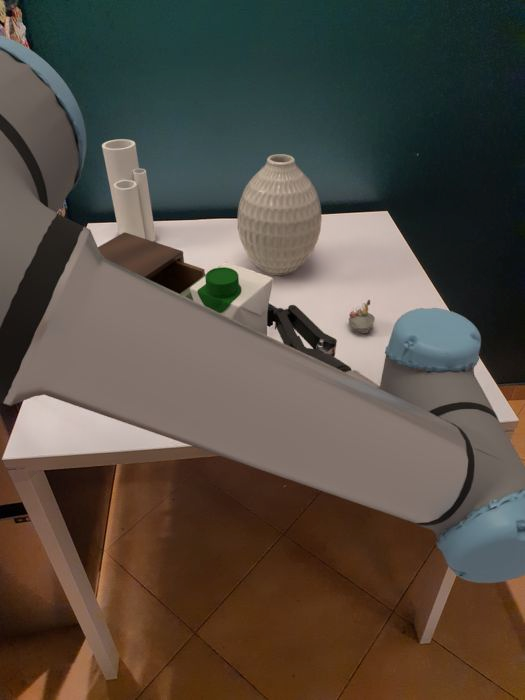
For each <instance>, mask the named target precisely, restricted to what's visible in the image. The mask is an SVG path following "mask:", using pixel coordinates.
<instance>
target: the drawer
mask: <svg viewBox="0 0 525 700" xmlns="http://www.w3.org/2000/svg"><path fill="white" fill-rule="evenodd" d="M215 268H216V267H215ZM215 268H213V269H215ZM205 276H206V270H205V269H204V268H201V267H199V266H197V265H193V264H190V263H187V262H185V261H184V262H181V261H178V260H176V261H175V262H173V263H172V264H170V265H169V266H167V267H166V268H164V269H163V270H161V271H160V272H158V273H157V274H155V275H154V276H152V277H151V278H150V279H149V280H151V281H153V282H155V283H157V284H159V285H161V286H163V287H166V288H168V289H170V290H172V291H174V292H176V293H178V294H180V295H182V296H185V297H187V298H189V299H191V300H193V297H192V294H191V291H190V287H191V286H193V285H194V284H195V283H197V282H198V281H199V280H201V279H202V278H203V277H205ZM193 301H194V300H193Z"/></svg>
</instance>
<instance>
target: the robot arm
mask: <svg viewBox="0 0 525 700" xmlns="http://www.w3.org/2000/svg"><path fill="white" fill-rule="evenodd" d="M86 131H87V130H86V125H85V121H84V118H83V114H82V111H81V108H80V106H79V104H78V102H77V100H76V98H75V96H74V94H73V93H72V91H71V89H70V88H69V86H68V85H67V84H66V82H65V80H64V79H63V78H62V77H61V76H60V74H59V73H58V72H57V71H56V70H55V69H54V68H53V67H52V66H51V65H50V64H49V63H48V62H47V61H46V60H45V59H43V57H41V56H40V55H38V54H37V53H36V52H35V51H33V50H32V49H30V48H28V47H27V46H26V45H24V44H22V43H20V42H18V41H16V40H15V39H12V38H9V37H7V36H4V35H1V34H0V404H3V405H7V406H10V407H11V406H14V405H16V404H18V403H21V402H24V401H26V400H29V399H31V398H34V397H39V396H47V397H49V398H53V399H56V400H59V401H61V402H64V403H66V404H69V405H72V406H76V407H78V408H82V409H84V410H86V411H87V410H88V411H91V412H93V413H95V414H98V415H102V416H103V417H107V418H110V419H113V420H116V421H118V422H121V423H125V424H128V425H131V426H133V427H136V428H139V429H141V430H144V431H148V432H150V433H154V434H157V435H158V436H159V435H160V436H162V437H165V438H168V439H171V440H174V441H176V442H179V443H183V444H186V445H188V446H191V447H194V448H197V449H199V450H203V451H206V452H209V453H212V454H214V455H217V456H220V457H223V458H226V459H228V460H231V461H234V462H237V463H239V464H242V465H246V466H248V467H252V468H255V469H258V470H260V471H264V472H266V473H269V474H271V475H275V476H278V477H281V478H284V479H287V480H289V481H292V482H295V483H297V484H301V485H304V486H306V487H310V488H312V489H315V490H318V491H321V492H323V493H327V494H330V495H333V496H336V497H339V498H341V499H343V500H347V501H350V502H353V503H356V504H358V505H360V506H361V505H362V506H364V507H367V508H370V509H373V510H376V511H379V512H382V513H385V514H387V515H391V516H393V517H396V518H399V519H402V520H405V521H407V522H409V523H411V524H414V525H417V526H419V527H422V528H425V529H428V530H431V531H432V532H434V534H435V536H436V539H437V540H436V542H435V543H436V547H437V549H439V550H440V551H441V553H442V555H443V557H444V560H445V562H446V565H447V566H448V568H449V569H450V571H453V573H454V575H456V576H457V577H459V578H460V579H462V580H465V581H467V582H470V583H477V584H493V583H502V582H507V581H511V580H515V579H518V578H522V577H524V576H525V464H524V462H523V461H522V459H521V457H520V455H519V453H518V451H517V450H516V448H515V446H514V445H513V443H512V441H511V439H510V438H509V436H508V434H507V433H506V431H505V429H504V427H503V426H502V424H501V422H500V420H499V418H498V416H497V414H496V412H495V410H494V408H493V406H492V404H491V403H490V401H489V398H488V397H487V396H486V394H485V391H484V389H483V388H482V386H481V384H480V383H479V380H478V379H477V377H476V375H475V367H476V366H477V365H478V362H479V360H480V357H479V356H480V355H479V354H480V351H481V347H482V346H481V345H482V336H481V333H480V331H479V329H478V328H477V326H476V325H475V324H474V323H473V322H472V321H470V320H469V319H468V318H466V317H465V316H463V315H461V314H459V313H458V312H457V313H456V312H455V311H451V310H448V309H444V308H439V307H432V308H431V307H430V308H425V307H424V308H423V307H420V308H415V309H412V310H408V311H406V312H405V313H404V314H402V315H400V316H399V318H398V319H396V321H395V322H394V325H393V328H392V331H391V335H390V337H389V341H388V344H387V346H385V350H384V354H385V357H384V362H383V368H382V373H381V377H380V383H379V384H380V385H378V384H377V383H376V382H374V381H373V380H371V379H369V378H368V377H367V376H365V375H364V374H362V373H360V372H359V371H358V370H356V369H353V370H352V368H351V366H349V365H348V364H346V363H344V362H343V361H342V360H340V359H338V357H335V356H336V350H337V343H338V341H337V339H336V338H335V337H333V336H331V335H329V334H327V333H325V332H324V331H323V330H322V329H321V328H320V327H318V325H316V324H315V323H314V321H313V320H311V319H310V318H309V317H308V316H307V315H306V314H305V313H304V312H303V311H302V310H301V309H300V308H299V307H298V306H297V305H295V304H290V305H288V306H287V307H288V308H283V307H276V306H275V305H273V304H272V303H269V305H268V312H267V328H270V327H272V326H274V330H277V333H278V334H279V337H280V338H281V340H282V342H281V341H279V340H278V339H275V338H273V337H271V336H269V335H268V334H267V335H265V334H263V333H261V332H258V331H256V330H254V329H252V328H250V327H248V326H246V325H244V324H242V323H239V322H237V321H235V320H233V319H231V318H229V317H227V316H225V315H223V314H220V313H218V312H216V311H214V310H212V309H210V308H208V307H206V306H204V305H201V304H199V303H197V302H195V301H193V300H191V299H189V298H187V297H185V296H182V295H180V294H178V293H176V292H174V291H172V290H170V289H168V288H166V287H163V286H161V285H159V284H157V283H155V282H153V281H151V280H149V279H147V278H144V277H142V276H140V275H138V274H136V273H134V272H132V271H130V270H128V269H125V268H123V267H121V266H119V265H117V264H115V263H113V262H111V261H109V260H106V259H105V258H104V257H103V256H102V254H101V253H100V251H99V249H98V247H99V246H98V244H97V241H96V240H95V238H94V234H93V232H92V230H91V229H90V228H88V227H86V226H83V225H81V224H80V223H78V222H75V221H73V220H71V219H69V218H67V217H65V216H63V215H61V214H59V213H58V212H59V211H60V209H61V207H62V206H63V204H64V203H65V200H66V199H67V197H68V195H69V194H70V192H71V191H72V190H73V189H74V188H75V187H76V186H77V185H78V181H79V179H81V176H82V171H83V167H84V164H85V159H86V153H87V143H88V142H87V133H86ZM297 333H298V334H299V335H298V334H297ZM302 339H303V340H304V341H305V342H306V343H307V344H308V345H309V346H310V347H311V348H310V347H307V346H306V345H305V344H304V342H303V340H302Z"/></svg>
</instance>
